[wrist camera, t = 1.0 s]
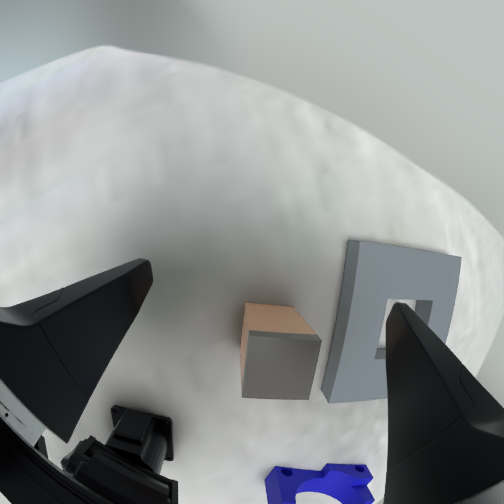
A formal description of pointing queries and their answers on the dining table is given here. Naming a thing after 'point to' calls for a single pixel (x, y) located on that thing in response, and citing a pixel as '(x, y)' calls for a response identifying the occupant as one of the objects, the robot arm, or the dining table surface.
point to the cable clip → (320, 483)
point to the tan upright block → (277, 353)
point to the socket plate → (383, 312)
